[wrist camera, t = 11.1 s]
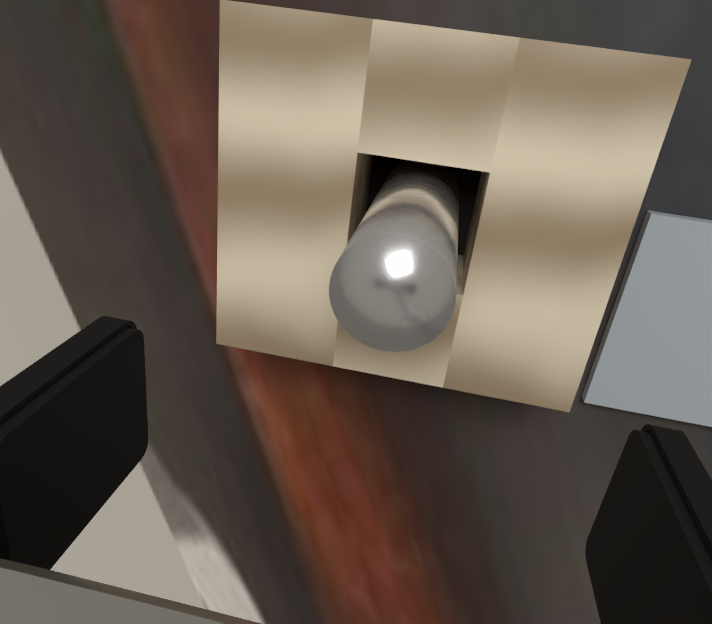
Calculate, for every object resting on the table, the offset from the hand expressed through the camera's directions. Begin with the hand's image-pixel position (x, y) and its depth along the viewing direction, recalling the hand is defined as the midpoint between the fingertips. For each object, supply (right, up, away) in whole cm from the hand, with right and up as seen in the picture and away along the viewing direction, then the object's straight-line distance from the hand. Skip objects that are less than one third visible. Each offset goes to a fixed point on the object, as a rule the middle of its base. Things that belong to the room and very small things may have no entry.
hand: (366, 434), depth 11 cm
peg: (+3, +8, +16) cm, 18 cm away
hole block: (+3, +8, +16) cm, 18 cm away
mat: (+17, +2, +16) cm, 24 cm away
